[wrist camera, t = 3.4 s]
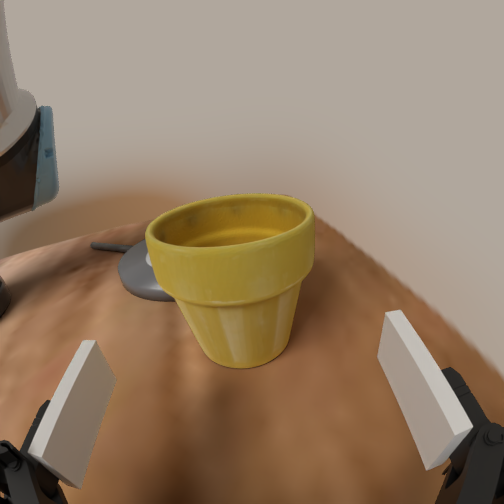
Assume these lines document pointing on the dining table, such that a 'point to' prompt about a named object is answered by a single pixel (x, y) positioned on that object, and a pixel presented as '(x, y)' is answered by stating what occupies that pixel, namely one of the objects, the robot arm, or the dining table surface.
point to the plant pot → (235, 271)
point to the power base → (137, 271)
